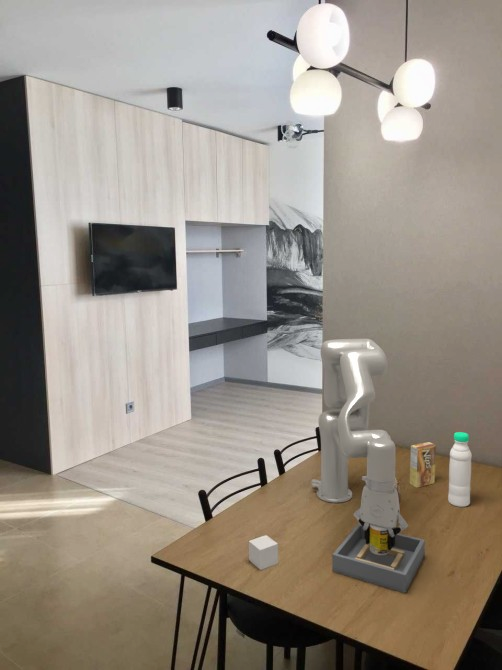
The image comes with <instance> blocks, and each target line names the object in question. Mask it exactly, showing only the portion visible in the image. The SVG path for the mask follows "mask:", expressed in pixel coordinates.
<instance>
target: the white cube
mask: <svg viewBox="0 0 502 670" xmlns="http://www.w3.org/2000/svg"><path fill="white" fill-rule="evenodd" d="M248 559H249V560H248V561H249V562H251V564H253V565H254V566H255V567H256V568H258V570H260V571H261V570H264V569H267V568H269V567H272V566H274V565H277V564H279V544H278V542H276V541H275V540H273V538H271V537H270V536H268V535H267V534H265V535H262V536H260V537H256V538H253V539H251V540H248Z"/></svg>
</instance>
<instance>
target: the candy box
mask: <svg viewBox="0 0 502 670" xmlns="http://www.w3.org/2000/svg"><path fill="white" fill-rule="evenodd" d="M436 451H437V445H436V444H435V443H432V442H429V441H428V442H421V443H417V444H413V445H410V457H409V458H410V464H409V465H410V466H409V484H410V485H411V486H412V487H414V488H420V487H425V486H429V485H433V484H435V479H436V477H435V475H436V474H435V473H436V456H437V455H436V453H437V452H436Z"/></svg>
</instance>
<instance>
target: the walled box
mask: <svg viewBox="0 0 502 670" xmlns="http://www.w3.org/2000/svg"><path fill="white" fill-rule="evenodd" d="M369 545H370V543H369V544H366V539H365V530H364V529H363V526H362V525H361V524H360V523H357V524H356V525H355V527H354V528H353V529H352V530H351V531H350V533H349V534H348V535H347V537H345V539H344V540H343V541H342V543H340V544H339V546H338V547H337V548H336V549H335V551H334V552H333V553H332V556H331V557H332V563H331V564H332V567H331V568H332V572H333V573H336V574H339V575H343V576H347V577H350V578H353V579H357V580H360V581H362V582H363V581H364V582H366V583H370V584H373V585H376V586H379V587H383V588H387V589H390V590H393V591H397V592H400V593H403V594H406V592H407V591H408V589H409V587H410V585H411V583H412V581H413V579H414V577H415V575H416V573H417V572H418V569H419V568H420V565H421V564H422V562H423V560H424V558H425V556H426V555H425V553H426V552H425V550H426V549H425V547H426V540H425V539H422V538H420V537H416V536H412V535H406V534H402V533H400V532H399V533H398V534H396V535H395V546H393V547H392V549H391V550H390V551H389V553H388V554H386V555H376V554H374V553H372V552H371V551H370V548H369Z"/></svg>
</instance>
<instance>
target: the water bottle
mask: <svg viewBox="0 0 502 670" xmlns="http://www.w3.org/2000/svg"><path fill="white" fill-rule="evenodd" d="M453 439H454V444H453V446H452V447H451V449H450V452H449V467H448V470H449V471H448V481H449V482H448V497H447V501H448V502H449V504H451V505H453V506H455V507H459V508H462V507H463V508H464V507H467V506H469V505H470V504H471V480H472V479H471V477H472V456H473V455H472V452H471V450H470V447H469V445H468V443H469V439H470V436H469V434H468V433H467V432H462V431H458V432H454V434H453Z"/></svg>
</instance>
